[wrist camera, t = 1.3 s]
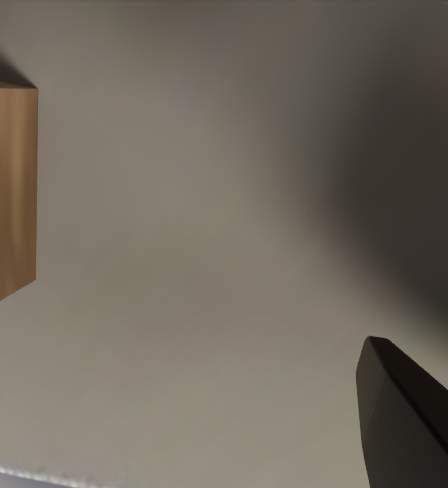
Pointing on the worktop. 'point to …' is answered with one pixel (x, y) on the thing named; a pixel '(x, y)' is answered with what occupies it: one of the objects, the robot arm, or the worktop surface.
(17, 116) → the domino
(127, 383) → the worktop surface
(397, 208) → the worktop surface
